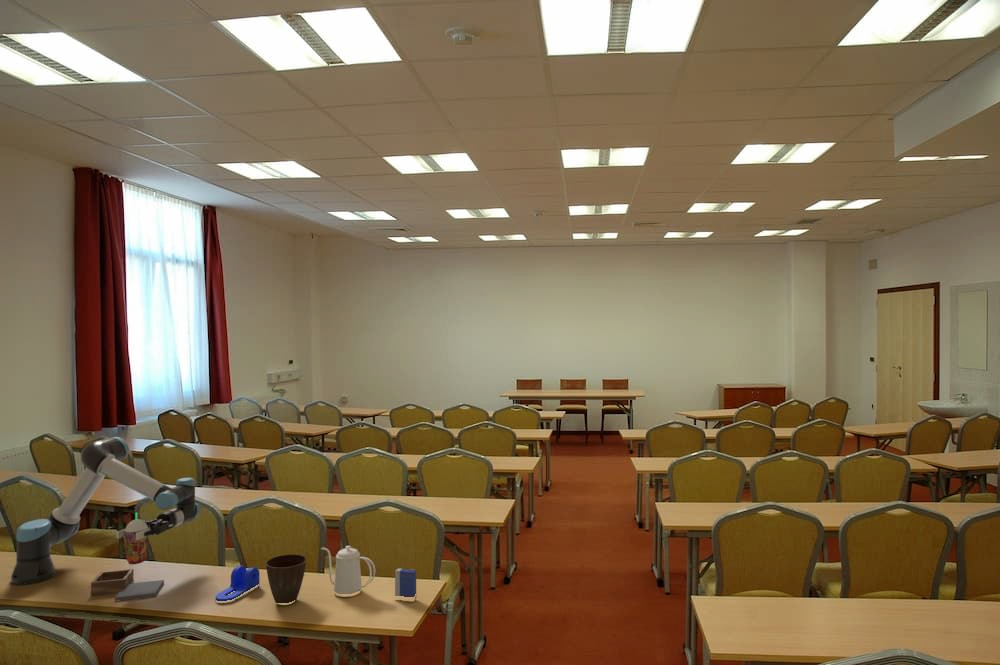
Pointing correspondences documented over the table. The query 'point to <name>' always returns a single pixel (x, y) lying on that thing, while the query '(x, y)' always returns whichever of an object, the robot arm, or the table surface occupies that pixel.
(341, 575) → the coffeepot
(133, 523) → the smoothie
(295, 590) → the plant pot
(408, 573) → the walkman
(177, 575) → the table surface
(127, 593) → the mat
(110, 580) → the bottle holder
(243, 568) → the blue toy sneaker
